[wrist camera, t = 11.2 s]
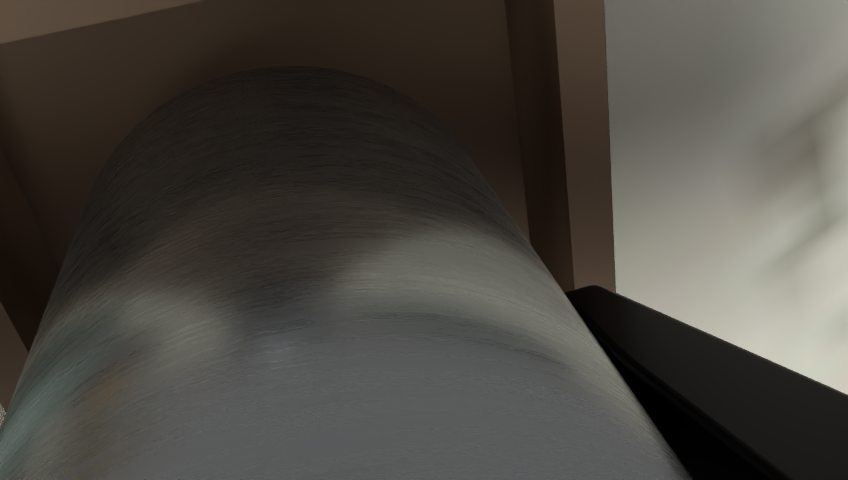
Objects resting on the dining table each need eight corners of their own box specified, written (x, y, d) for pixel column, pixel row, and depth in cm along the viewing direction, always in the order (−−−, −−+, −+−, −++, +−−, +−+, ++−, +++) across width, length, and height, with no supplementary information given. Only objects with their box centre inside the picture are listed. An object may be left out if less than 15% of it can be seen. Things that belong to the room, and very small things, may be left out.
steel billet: (510, 365, 11) (812, 967, 5) (162, 461, 11) (78, 1243, 5) (463, 21, 9) (949, 452, 3) (2, 125, 8) (-594, 927, 2)
